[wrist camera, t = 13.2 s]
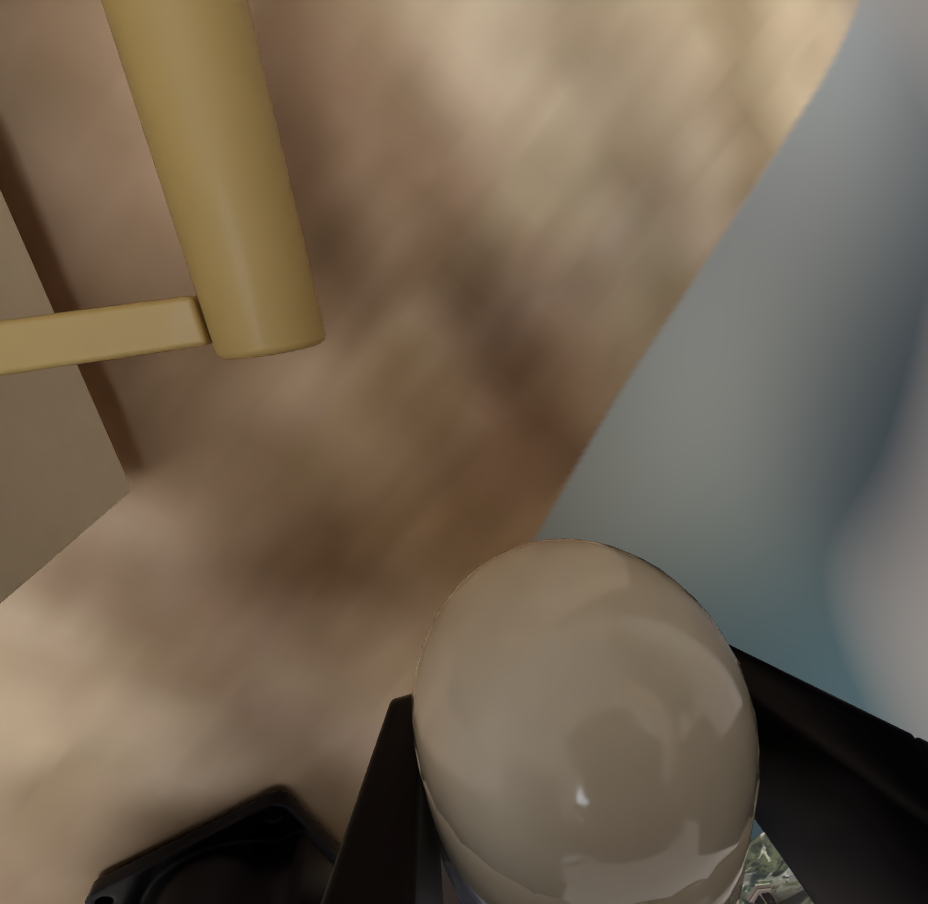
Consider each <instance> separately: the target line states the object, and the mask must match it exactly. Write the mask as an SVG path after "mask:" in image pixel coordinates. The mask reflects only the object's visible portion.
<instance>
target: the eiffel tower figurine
mask: <svg viewBox="0 0 928 904" xmlns="http://www.w3.org/2000/svg"><path fill="white" fill-rule="evenodd" d="M738 904H814V903H813V901H812V900H811V899H810V897H809V896H808V894H807V893H806V891H805V890H804V889H803V887H802V886H801V884H800V883H799V881H798V880H797V879H796V877H795V876H794V874H793V873H792V871H791V870H790V869H789V867H788V866H787V864H786V863H785V861H784V860H783V859H782V857H781V856H780V854H779V853H778V851H777V850H776V849H775V847H774V846H773V844H772V843H771V841H770V840H769V838H768V837H767V836H766V834H765V833H764V832H763V833H761V834H760V835H758V836H757V837H755V838H754V839H753V840H751V841H750V845H749V851H748V857H747V863H746V869H745V876H744V882H743V888H742V892H741V895H740V899H739V903H738Z"/></svg>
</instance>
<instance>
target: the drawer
mask: <svg viewBox="0 0 928 904" xmlns="http://www.w3.org/2000/svg"><path fill="white" fill-rule="evenodd" d="M101 1H102V4H103V7H104V10H105V14H106V17H107V20H108V23H109V26H110V29H111V32H112V35H113V38H114V41H115V44H116V47H117V51H118V54H119V57H120V60H121V63H122V66H123V69H124V72H125V75H126V78H127V81H128V84H129V88H130V91H131V94H132V97H133V100H134V103H135V106H136V109H137V112H138V115H139V118H140V121H141V125H142V128H143V131H144V134H145V137H146V140H147V143H148V146H149V149H150V152H151V155H152V158H153V162H154V165H155V168H156V171H157V174H158V177H159V180H160V183H161V186H162V189H163V192H164V195H165V199H166V202H167V205H168V208H169V211H170V214H171V217H172V220H173V223H174V226H175V229H176V232H177V236H178V239H179V242H180V245H181V248H182V251H183V254H184V257H185V260H186V263H187V266H188V269H189V273H190V276H191V279H192V282H193V285H194V288H195V291H196V294H197V296H182V297H175V298H167V299H159V300H152V301H144V302H136V303H129V304H121V305H114V306H106V307H98V308H91V309H83V310H76V311H68V312H60V313H54V311H53V309H52V306H51V304H50V302H49V300H48V297H47V295H46V293H45V291H44V288H43V286H42V284H41V281H40V279H39V277H38V275H37V272H36V270H35V268H34V265H33V263H32V261H31V259H30V256H29V254H28V252H27V249H26V247H25V245H24V243H23V240H22V238H21V236H20V233H19V231H18V229H17V227H16V224H15V222H14V220H13V218H12V215H11V213H10V211H9V208H8V206H7V204H6V202H5V199H4V197H3V195H2V192H1V190H0V603H1V602H2V601H4V600H5V599H6V598H7V597H8V596H9V595H11V594H12V593H13V592H14V591H15V590H16V589H18V588H19V587H20V586H21V585H22V584H23V583H24V582H26V581H27V580H28V579H29V578H30V577H31V576H33V575H34V574H35V573H36V572H37V571H38V570H40V569H41V568H42V567H43V566H44V565H45V564H47V563H48V562H49V561H50V560H51V559H52V558H54V557H55V556H56V555H57V554H58V553H59V552H60V551H62V550H63V549H64V548H65V547H66V546H67V545H69V544H70V543H71V542H72V541H73V540H74V539H76V538H77V537H78V536H79V535H80V534H81V533H83V532H84V531H85V530H86V529H87V528H88V527H90V526H91V525H92V524H93V523H94V522H95V521H96V520H98V519H99V518H100V517H101V516H102V515H103V514H105V513H106V512H107V511H108V510H109V509H110V508H112V507H113V506H114V505H115V504H116V503H117V502H119V501H120V500H121V499H122V498H123V497H124V496H125V495H127V494H128V493H129V492H130V491H131V487H130V484H129V482H128V480H127V477H126V475H125V473H124V471H123V468H122V466H121V464H120V462H119V459H118V457H117V455H116V452H115V450H114V448H113V446H112V443H111V441H110V439H109V436H108V434H107V432H106V430H105V427H104V425H103V423H102V420H101V418H100V416H99V414H98V411H97V409H96V407H95V405H94V402H93V400H92V398H91V395H90V393H89V391H88V389H87V386H86V384H85V382H84V379H83V377H82V375H81V373H80V370H79V368H78V366H77V364H84V363H91V362H97V361H104V360H111V359H118V358H124V357H131V356H138V355H145V354H151V353H158V352H165V351H172V350H178V349H185V348H192V347H199V346H204V345H207V344H210V343H213V347H214V350H215V352H216V354H217V355H218V356H219V357H220V358H224V359H245V358H254V357H261V356H267V355H274V354H279V353H285V352H290V351H295V350H299V349H304V348H308V347H311V346H314V345H317V344H319V343H321V342H322V341H324V340H325V335H326V334H325V329H324V325H323V321H322V317H321V312H320V308H319V304H318V299H317V295H316V291H315V287H314V282H313V278H312V274H311V269H310V265H309V261H308V257H307V252H306V248H305V244H304V239H303V235H302V231H301V227H300V222H299V218H298V214H297V209H296V205H295V201H294V197H293V192H292V188H291V184H290V179H289V175H288V171H287V167H286V162H285V158H284V154H283V149H282V145H281V141H280V137H279V132H278V128H277V124H276V119H275V115H274V111H273V107H272V102H271V98H270V94H269V89H268V85H267V81H266V77H265V72H264V68H263V64H262V59H261V55H260V51H259V47H258V42H257V38H256V34H255V29H254V25H253V21H252V17H251V12H250V8H249V4H248V0H101Z"/></svg>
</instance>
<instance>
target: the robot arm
mask: <svg viewBox="0 0 928 904" xmlns="http://www.w3.org/2000/svg"><path fill="white" fill-rule="evenodd" d="M728 645H729V644H728ZM729 646H730V648H731V650H732V651H733V653H734V655H735V656H736V658H737V660H738V661H739V664H740V667H741V670H742V673H743V676H744V679H745V682H746V685H747V688H748V691H749V694H750V698H751V701H752V704H753V707H754V710H755V713H756V717H757V726H758V738H759V753H760V781H759V788H758V795H757V803H756V809H755V815H754V818H755V820H756V821H757V823H758V824H759V826H760V827H761V828H762V830H763V831H764V833H765V834H766V836H767V837H768V838H769V840H770V841H771V843H772V844H773V846H774V847H775V849H776V850H777V851H778V853H779V854H780V856H781V857H782V859H783V860H784V861H785V863H786V864H787V866H788V867H789V869H790V870H791V871H792V873H793V874H794V876H795V877H796V879H797V880H798V881H799V883H800V884H801V886H802V887H803V889H804V890H805V891H806V893H807V894H808V896H809V897H810V899H811V900H812V901H813V903H814V904H928V742H927V741H925V740H923V739H921V738H914V737H913V735H912V734H910V733H908V732H906V731H904V730H902V729H900V728H898V727H896V726H894V725H892V724H890V723H888V722H886V721H884V720H882V719H880V718H877V717H875V716H874V715H872V714H869V713H867V712H865V711H863V710H861V709H859V708H857V707H855V706H853V705H851V704H849V703H847V702H845V701H843V700H841V699H839V698H837V697H835V696H833V695H831V694H829V693H827V692H825V691H823V690H820V689H819V688H817V687H814V686H812V685H810V684H808V683H806V682H804V681H802V680H800V679H798V678H796V677H794V676H792V675H790V674H788V673H785V672H784V671H782V670H780V669H778V668H776V667H774V666H772V665H770V664H768V663H766V662H764V661H762V660H759V659H757V658H755V657H753V656H751V655H749V654H747V653H745V652H743V651H741V650H739V649H737V648H735V647H733V646H731V645H729ZM442 892H443V891H442V875H441V856H440V851H439V848H438V844H437V840H436V835H435V831H434V827H433V823H432V819H431V815H430V811H429V807H428V802H427V798H426V794H425V790H424V786H423V782H422V778H421V774H420V771H419V767H418V761H417V756H416V750H415V744H414V734H413V724H412V694H410V695H406V696H402V697H399V698H395V699H393V700H392V701H391V703H390V705H389V707H388V710H387V713H386V716H385V719H384V722H383V725H382V728H381V730H380V733H379V736H378V739H377V742H376V745H375V748H374V751H373V754H372V757H371V760H370V762H369V765H368V768H367V771H366V774H365V777H364V780H363V783H362V786H361V789H360V791H359V794H358V797H357V800H356V803H355V806H354V809H353V812H352V815H351V818H350V820H349V823H348V826H347V829H346V832H345V835H344V838H343V841H342V844H341V847H339V845H338V844H337V843H336V842H335V841H334V840H333V839H332V838H331V837H330V836H329V835H328V834H327V833H326V832H325V831H324V830H323V829H322V828H321V827H320V826H319V824H318V823H317V822H316V821H315V820H314V819H313V818H312V817H311V816H310V815H309V814H308V813H307V812H306V811H305V810H304V809H303V808H302V807H301V806H300V805H299V803H298V802H297V801H296V800H295V799H294V798H293V797H292V796H291V795H290V794H288V793H287V792H282V791H275V792H271V793H268V794H266V795H264V796H262V797H260V798H258V799H256V800H254V801H252V802H250V803H248V804H246V805H244V806H242V807H240V808H238V809H236V810H234V811H232V812H230V813H228V814H226V815H224V816H222V817H220V818H218V819H216V820H214V821H212V822H210V823H208V824H206V825H204V826H202V827H200V828H198V829H196V830H194V831H192V832H190V833H188V834H186V835H184V836H182V837H180V838H178V839H176V840H174V841H172V842H170V843H168V844H166V845H164V846H162V847H160V848H158V849H156V850H154V851H153V852H151V853H149V854H147V855H145V856H143V857H141V858H139V859H137V860H135V861H133V862H131V863H129V864H127V865H125V866H123V867H121V868H119V869H117V870H115V871H113V872H111V873H109V874H107V875H105V876H103V877H101V878H99V879H98V880H96V881H95V882H94V884H93V885H92V888H91V890H90V892H89V894H88V896H87V899H86V901H85V904H443V893H442Z"/></svg>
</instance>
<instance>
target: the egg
mask: <svg viewBox="0 0 928 904" xmlns="http://www.w3.org/2000/svg"><path fill="white" fill-rule="evenodd" d="M412 724H413V734H414V744H415V750H416V756H417V761H418V767H419V771H420V774H421V778H422V782H423V786H424V790H425V794H426V798H427V802H428V807H429V811H430V815H431V819H432V823H433V827H434V831H435V835H436V840H437V844H438V848H439V851H440V855H441V859H442V861H443V864H444V867H445V870H446V872H447V874H448V876H449V878H450V881H451V883H452V885H453V887H454V889H455V891H456V893H457V896H458V898H459V900H460V903H461V904H738V903H739V899H740V895H741V892H742V888H743V882H744V876H745V869H746V863H747V857H748V851H749V845H750V839H751V833H752V826H753V820H754V815H755V809H756V803H757V795H758V788H759V781H760V753H759V738H758V726H757V717H756V713H755V710H754V707H753V704H752V701H751V698H750V694H749V691H748V688H747V685H746V682H745V679H744V676H743V673H742V670H741V667H740V664H739V661H738V660H737V658H736V656H735V655H734V653H733V651H732V650H731V648H730V646H729V645H728V643H727V641H726V640H725V638H724V637H723V635H722V633H721V632H720V630H719V628H718V627H717V625H716V624H715V622H714V621H713V619H712V618H711V616H710V615H709V614H708V613H707V611H706V610H705V609H704V608H703V607H702V606H701V605H700V604H699V603H698V601H697V600H696V599H695V598H694V597H693V596H692V595H691V594H689V593H688V592H687V591H686V590H685V589H684V588H683V587H682V586H681V585H680V584H678V583H677V582H676V581H675V580H674V579H672V578H671V577H670V576H668V575H667V574H666V573H665V572H663V571H662V570H661V569H659V568H657V567H656V566H654V565H652V564H650V563H649V562H647V561H645V560H643V559H641V558H639V557H637V556H634V555H632V554H630V553H628V552H625V551H623V550H620V549H618V548H615V547H612V546H609V545H605V544H601V543H598V542H593V541H586V540H580V539H551V540H542V541H536V542H531V543H528V544H524V545H521V546H517V547H515V548H513V549H510V550H508V551H506V552H504V553H501V554H500V555H498V556H496V557H494V558H492V559H490V560H488V561H487V562H485V563H484V564H482V565H481V566H479V567H477V568H476V569H475V570H474V571H473V572H471V573H470V574H469V575H468V576H467V577H466V578H465V579H464V580H463V581H462V582H461V583H460V584H459V585H458V586H457V587H456V588H455V590H454V591H453V592H452V593H451V594H450V596H449V597H448V598H447V599H446V601H445V602H444V603H443V605H442V606H441V607H440V609H439V611H438V613H437V615H436V617H435V619H434V621H433V623H432V626H431V628H430V630H429V632H428V634H427V636H426V638H425V641H424V643H423V645H422V647H421V651H420V656H419V660H418V665H417V669H416V675H415V680H414V686H413V692H412Z"/></svg>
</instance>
